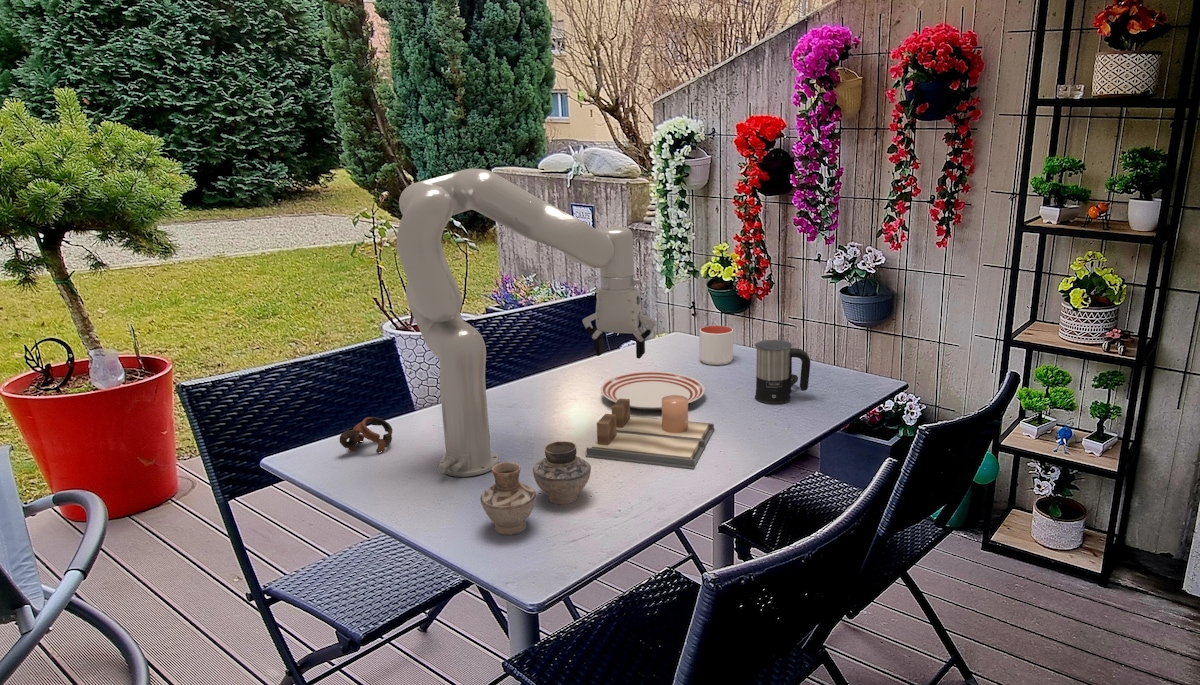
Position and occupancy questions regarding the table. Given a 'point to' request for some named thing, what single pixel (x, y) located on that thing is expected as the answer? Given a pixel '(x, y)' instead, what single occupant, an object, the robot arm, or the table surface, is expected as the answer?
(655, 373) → the dinner plate
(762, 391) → the milk frother
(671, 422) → the canister
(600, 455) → the lane frame
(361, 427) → the brown curved loop
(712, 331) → the cup
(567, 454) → the pottery
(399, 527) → the table surface
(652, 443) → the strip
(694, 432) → the strip
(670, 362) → the table surface
